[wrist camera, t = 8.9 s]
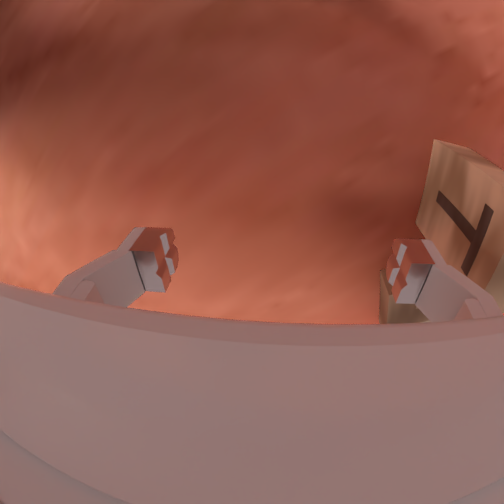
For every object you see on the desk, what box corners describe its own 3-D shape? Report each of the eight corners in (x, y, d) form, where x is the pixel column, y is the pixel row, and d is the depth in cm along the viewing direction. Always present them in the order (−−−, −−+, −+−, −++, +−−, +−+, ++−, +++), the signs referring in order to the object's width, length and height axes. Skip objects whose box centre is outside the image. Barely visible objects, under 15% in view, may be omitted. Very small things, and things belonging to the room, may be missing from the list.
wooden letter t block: (433, 138, 13) (521, 203, 6) (469, 147, 13) (555, 213, 6) (414, 222, 17) (468, 316, 10) (448, 226, 16) (505, 313, 10)
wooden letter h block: (389, 295, 17) (487, 271, 15) (378, 267, 20) (470, 247, 18) (384, 345, 20) (469, 322, 18) (378, 317, 23) (458, 298, 21)
